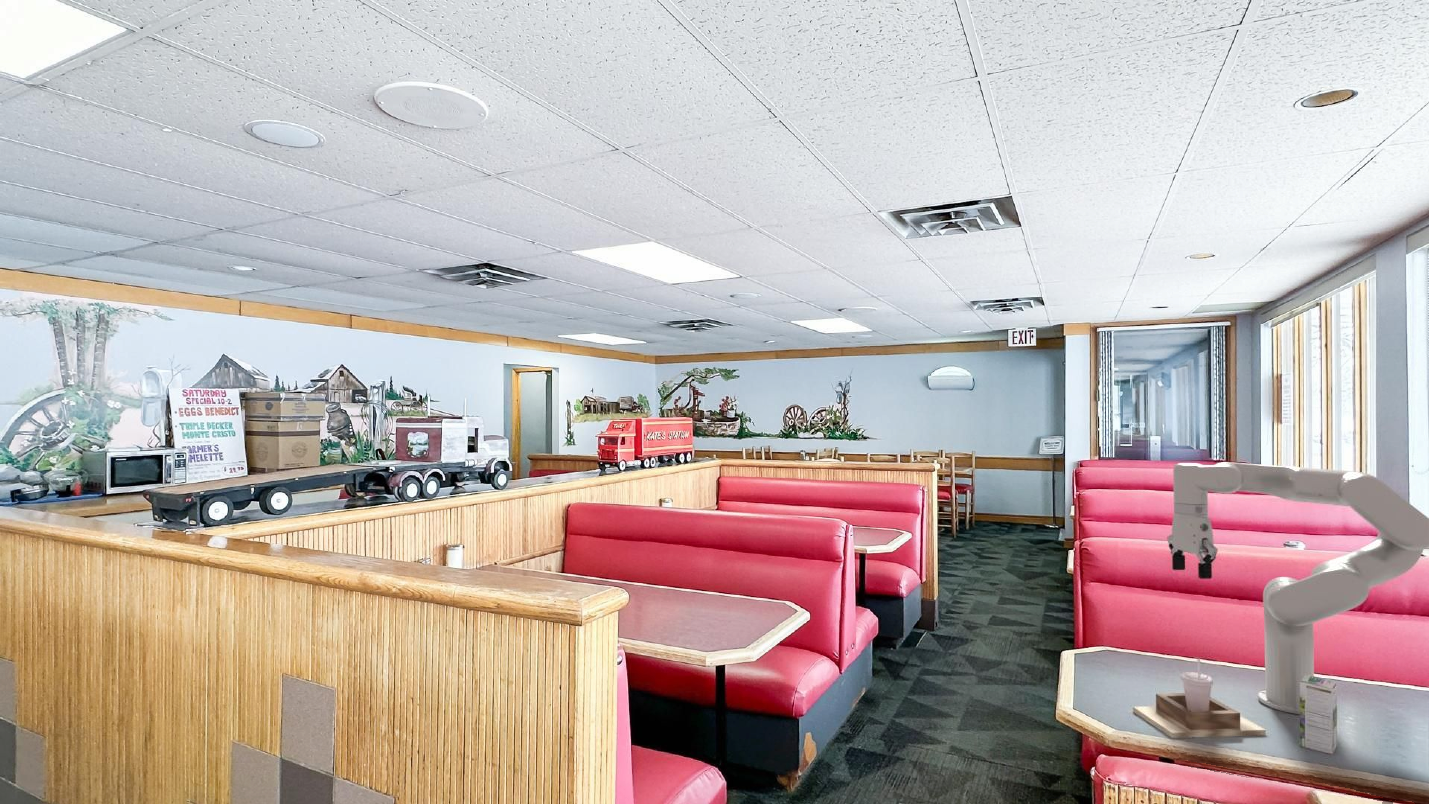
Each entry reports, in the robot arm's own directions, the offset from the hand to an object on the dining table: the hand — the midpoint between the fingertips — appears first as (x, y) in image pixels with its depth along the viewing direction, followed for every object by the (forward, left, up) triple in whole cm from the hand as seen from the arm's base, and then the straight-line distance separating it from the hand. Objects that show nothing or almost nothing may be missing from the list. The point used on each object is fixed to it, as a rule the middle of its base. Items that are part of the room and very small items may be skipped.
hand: (1191, 573), depth 189 cm
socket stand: (+14, +20, -30) cm, 39 cm away
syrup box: (-4, +33, -31) cm, 45 cm away
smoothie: (+14, +20, -29) cm, 38 cm away
